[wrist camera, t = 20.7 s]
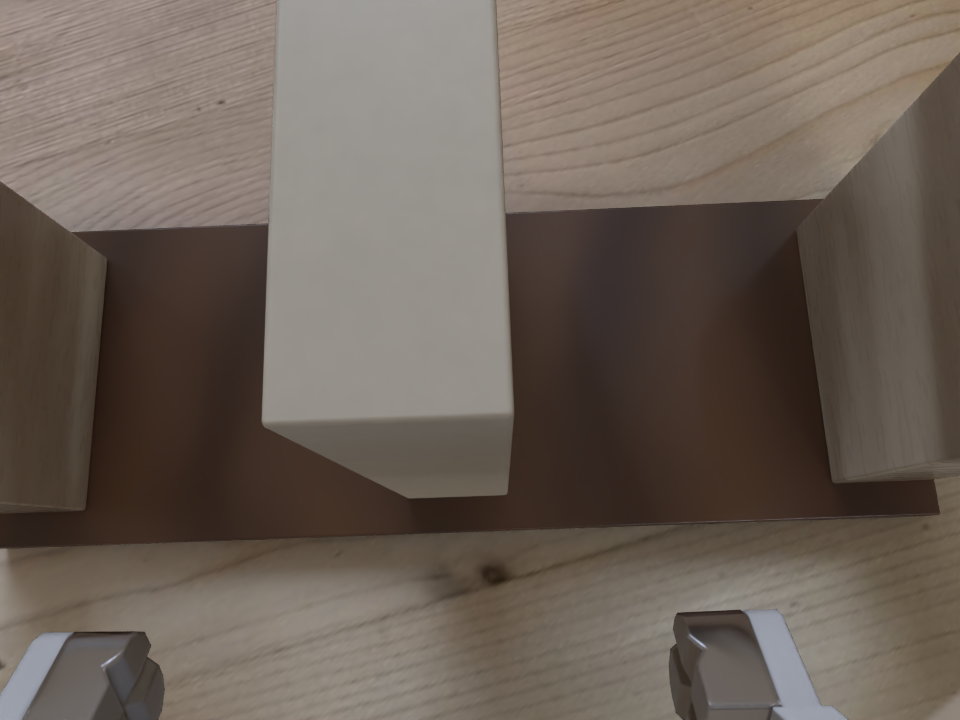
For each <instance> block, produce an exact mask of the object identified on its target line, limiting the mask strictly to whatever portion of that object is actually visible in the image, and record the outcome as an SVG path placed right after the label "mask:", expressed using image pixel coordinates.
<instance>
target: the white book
mask: <svg viewBox="0 0 960 720" xmlns="http://www.w3.org/2000/svg"><path fill="white" fill-rule="evenodd" d="M513 421H514V396H513V373H512V350H511V328H510V305H509V282H508V259H507V236H506V214H505V191H504V168H503V145H502V123H501V100H500V77H499V54H498V31H497V9H496V0H277V1H276V29H275V57H274V86H273V114H272V142H271V170H270V198H269V226H268V255H267V283H266V311H265V339H264V367H263V396H262V424H263V426H264V427H265V428H267V429H269V430H271V431H273V432H275V433H277V434H279V435H281V436H283V437H286V438H288V439H290V440H292V441H294V442H296V443H298V444H300V445H302V446H304V447H306V448H308V449H310V450H312V451H314V452H316V453H318V454H320V455H322V456H324V457H326V458H328V459H330V460H332V461H334V462H336V463H338V464H340V465H342V466H344V467H346V468H348V469H350V470H352V471H354V472H356V473H358V474H360V475H362V476H364V477H366V478H368V479H370V480H372V481H374V482H376V483H378V484H380V485H382V486H384V487H386V488H388V489H390V490H392V491H394V492H396V493H398V494H400V495H402V496H404V497H406V498H438V497H466V496H495V495H506V494H507V493H508V482H509V470H510V458H511V445H512V433H513Z"/></svg>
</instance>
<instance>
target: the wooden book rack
mask: <svg viewBox="0 0 960 720" xmlns="http://www.w3.org/2000/svg"><path fill="white" fill-rule="evenodd" d="M505 214H506V236H507V259H508V282H509V305H510V328H511V350H512V373H513V396H514V421H513V433H512V445H511V458H510V470H509V482H508V493H507V494H506V495H495V496H466V497H438V498H406V497H404V496H402V495H400V494H398V493H396V492H394V491H392V490H390V489H388V488H386V487H384V486H382V485H380V484H378V483H376V482H374V481H372V480H370V479H368V478H366V477H364V476H362V475H360V474H358V473H356V472H354V471H352V470H350V469H348V468H346V467H344V466H342V465H340V464H338V463H336V462H334V461H332V460H330V459H328V458H326V457H324V456H322V455H320V454H318V453H316V452H314V451H312V450H310V449H308V448H306V447H304V446H302V445H300V444H298V443H296V442H294V441H292V440H290V439H288V438H286V437H283V436H281V435H279V434H277V433H275V432H273V431H271V430H269V429H267V428H265V427H264V426H263V424H262V396H263V367H264V339H265V311H266V283H267V255H268V226H269V224H247V225H224V226H202V227H179V228H157V229H134V230H111V231H89V232H70V231H68V230H67V229H65V228H64V227H63V226H61V225H60V224H59V223H57V222H56V221H54V220H53V219H52V218H50V217H49V216H47V215H46V214H45V213H43V212H42V211H41V210H39V209H38V208H36V207H35V206H34V205H32V204H31V203H29V202H28V201H27V200H25V199H24V198H23V197H21V196H20V195H18V194H17V193H16V192H14V191H13V190H12V189H10V188H9V187H7V186H6V185H5V184H3V183H2V182H0V549H8V548H36V547H65V546H93V545H121V544H149V543H177V542H205V541H234V540H262V539H290V538H318V537H346V536H374V535H403V534H431V533H459V532H487V531H515V530H543V529H572V528H600V527H628V526H656V525H684V524H712V523H740V522H769V521H797V520H825V519H853V518H881V517H909V516H930V515H939V514H940V511H939V506H938V500H937V494H936V488H935V483H934V479H941V478H947V477H954V476H960V53H959V54H958V55H957V56H956V57H955V58H954V59H953V60H952V61H951V62H950V64H949V65H948V66H947V67H946V68H945V69H944V70H943V71H942V72H941V73H940V74H939V75H938V77H937V78H936V79H935V80H934V81H933V82H932V83H931V84H930V85H929V86H928V87H927V88H926V90H925V91H924V92H923V93H922V94H921V95H920V96H919V97H918V98H917V99H916V100H915V101H914V102H913V104H912V105H911V106H910V107H909V108H908V109H907V110H906V111H905V112H904V113H903V114H902V115H901V117H900V118H899V119H898V120H897V121H896V122H895V123H894V124H893V125H892V126H891V127H890V128H889V129H888V131H887V132H886V133H885V134H884V135H883V136H882V137H881V138H880V139H879V140H878V141H877V142H876V144H875V145H874V146H873V147H872V148H871V149H870V150H869V151H868V152H867V153H866V154H865V155H864V156H863V158H862V159H861V160H860V161H859V162H858V163H857V164H856V165H855V166H854V167H853V168H852V169H851V171H850V172H849V173H848V174H847V175H846V176H845V177H844V178H843V179H842V180H841V181H840V182H839V184H838V185H837V186H836V187H835V188H834V189H833V190H832V191H831V192H830V193H829V194H828V195H827V196H826V198H825V199H813V200H790V201H768V202H745V203H722V204H700V205H677V206H655V207H632V208H609V209H587V210H564V211H541V212H519V213H505Z"/></svg>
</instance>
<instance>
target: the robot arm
mask: <svg viewBox="0 0 960 720" xmlns="http://www.w3.org/2000/svg"><path fill="white" fill-rule="evenodd" d="M673 632H674V635H675V639H676V644H675V645H674V646H673V647H672V648H671V649H670V658H669V676H670V686H671V693H672V698H673V702H674V707H675V711H676V713H677V714H678V715H679V716H680V717H681V718H682V719H683V720H849V719H847V718H846V717H845V716H844V715H843V714H841V713H840V712H839V711H838V710H837V709H835V708H834V707H833V706H822V705H821V702H820V700H819V698H818V695H817V693H816V691H815V688H814V686H813V684H812V682H811V679H810V677H809V675H808V672H807V670H806V668H805V665H804V663H803V661H802V659H801V656H800V654H799V652H798V649H797V647H796V645H795V642H794V640H793V638H792V635H791V633H790V631H789V629H788V626H787V624H786V622H785V619H784V617H783V615H782V614H781V613H780V612H779V611H778V610H777V609H774V610H744V611H741V610H727V611H706V612H684V613H677V614H676V616H675V619H674V625H673ZM150 648H151V644H150V642H149V640H148V638H147V636H146V633H145V632H48V633H42V634H41V635H39V636H38V637H37V638H36V639H34V640H33V641H32V643H31V644H30V646H29V648H28V649H27V651H26V653H25V654H24V656H23V658H22V659H21V661H20V662H19V664H18V666H17V667H16V669H15V671H14V672H13V674H12V676H11V677H10V679H9V681H8V682H7V684H6V686H5V687H4V689H3V691H2V692H1V694H0V720H158V719H159V716H160V713H161V711H162V705H163V698H164V691H165V688H164V679H163V674H162V671H161V669H160V666H159V665H158V664H157V663H155V662H154V661H153V660H151V659H150V658H148V657H147V655H148V653H149V650H150Z"/></svg>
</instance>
